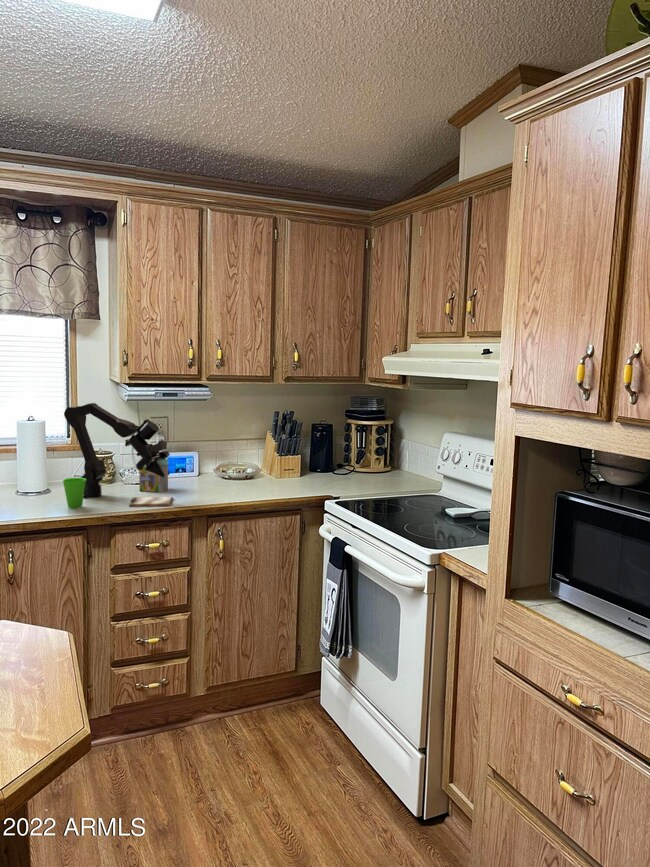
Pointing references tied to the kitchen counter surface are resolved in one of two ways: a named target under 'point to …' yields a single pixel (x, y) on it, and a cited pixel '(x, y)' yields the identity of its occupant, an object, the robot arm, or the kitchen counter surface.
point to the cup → (74, 491)
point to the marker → (164, 480)
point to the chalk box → (148, 481)
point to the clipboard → (150, 501)
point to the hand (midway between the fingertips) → (166, 475)
